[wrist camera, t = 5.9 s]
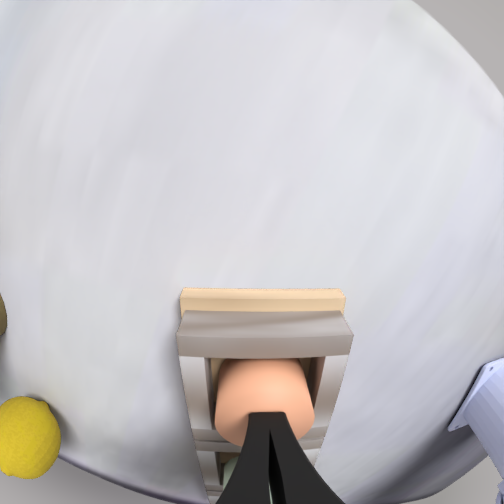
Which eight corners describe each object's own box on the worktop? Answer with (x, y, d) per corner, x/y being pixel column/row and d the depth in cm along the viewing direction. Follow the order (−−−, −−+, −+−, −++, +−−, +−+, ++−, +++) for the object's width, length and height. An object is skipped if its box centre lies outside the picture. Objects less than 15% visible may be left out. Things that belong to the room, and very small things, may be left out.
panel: (183, 287, 13) (169, 321, 10) (339, 288, 13) (361, 321, 10) (213, 493, 20) (211, 518, 17) (290, 492, 20) (293, 517, 17)
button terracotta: (308, 343, 12) (322, 388, 10) (298, 402, 14) (306, 446, 11) (217, 343, 12) (211, 390, 10) (220, 403, 14) (217, 448, 11)
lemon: (74, 434, 17) (43, 504, 10) (22, 403, 16) (-17, 463, 9) (75, 401, 16) (32, 485, 8) (16, 364, 15) (-37, 432, 7)
